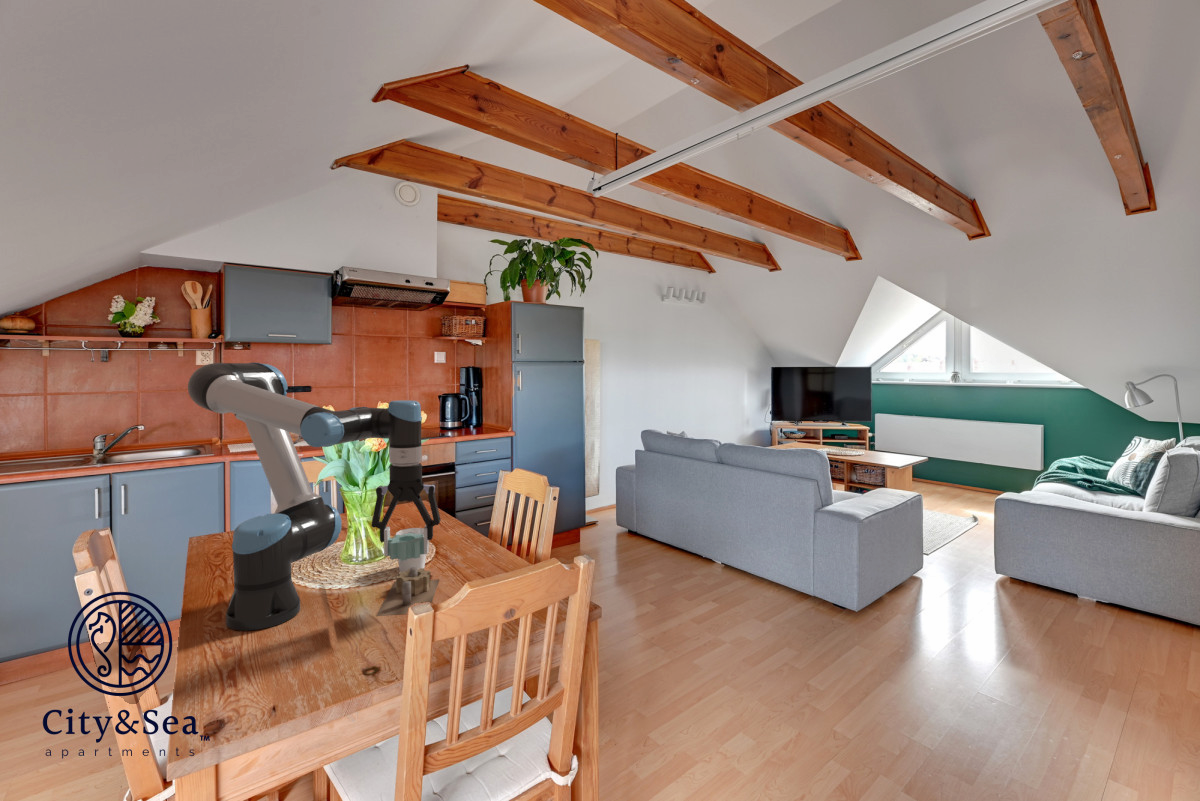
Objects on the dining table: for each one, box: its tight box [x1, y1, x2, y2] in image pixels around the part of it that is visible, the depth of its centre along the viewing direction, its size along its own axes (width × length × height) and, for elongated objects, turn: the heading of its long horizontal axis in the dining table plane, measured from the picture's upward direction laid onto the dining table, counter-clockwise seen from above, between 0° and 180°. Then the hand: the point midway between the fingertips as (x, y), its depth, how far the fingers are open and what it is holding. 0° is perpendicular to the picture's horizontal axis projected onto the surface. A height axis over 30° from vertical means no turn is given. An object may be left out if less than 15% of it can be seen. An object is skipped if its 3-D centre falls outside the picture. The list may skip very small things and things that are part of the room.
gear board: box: [375, 567, 440, 617], centre depth 136 cm, size 12×20×7 cm, turn 9°
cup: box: [395, 527, 427, 572], centre depth 154 cm, size 9×9×12 cm
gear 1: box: [387, 533, 424, 561], centre depth 131 cm, size 9×9×4 cm
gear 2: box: [395, 567, 431, 595], centre depth 141 cm, size 9×9×4 cm
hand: (407, 553), depth 131 cm, fingers closed on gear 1, 9 cm apart
